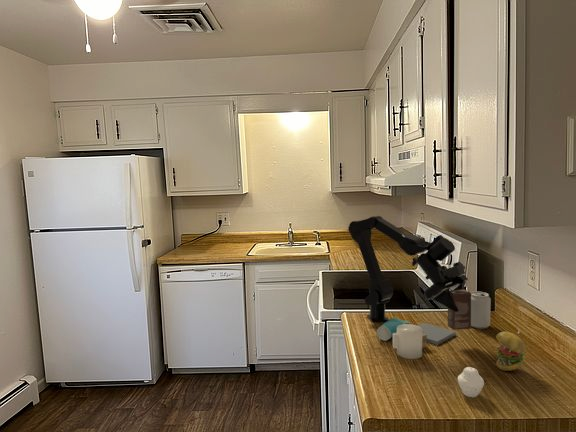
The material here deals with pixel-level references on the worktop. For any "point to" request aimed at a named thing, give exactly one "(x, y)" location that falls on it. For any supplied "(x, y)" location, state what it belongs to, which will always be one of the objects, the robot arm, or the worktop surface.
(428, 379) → the worktop surface
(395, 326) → the tube
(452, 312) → the box
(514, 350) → the hamburger
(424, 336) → the walnut block
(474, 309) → the can
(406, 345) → the white tapered cup
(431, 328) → the coaster
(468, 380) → the muffin
